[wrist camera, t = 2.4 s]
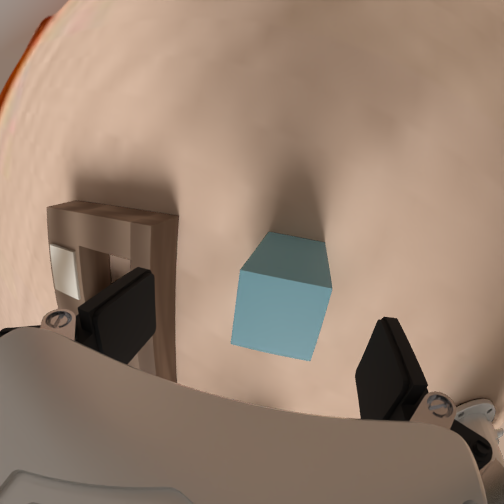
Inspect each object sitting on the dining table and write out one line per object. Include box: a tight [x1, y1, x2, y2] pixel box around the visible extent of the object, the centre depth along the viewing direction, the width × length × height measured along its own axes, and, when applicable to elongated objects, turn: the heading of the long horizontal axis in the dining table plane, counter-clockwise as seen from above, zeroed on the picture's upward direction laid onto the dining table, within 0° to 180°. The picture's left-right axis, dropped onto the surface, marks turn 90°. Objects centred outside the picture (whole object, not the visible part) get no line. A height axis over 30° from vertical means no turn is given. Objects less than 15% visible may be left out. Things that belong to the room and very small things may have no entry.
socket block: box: [47, 201, 179, 383], centre depth 23 cm, size 12×22×4 cm, turn 172°
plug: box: [231, 232, 332, 361], centre depth 16 cm, size 4×4×8 cm
